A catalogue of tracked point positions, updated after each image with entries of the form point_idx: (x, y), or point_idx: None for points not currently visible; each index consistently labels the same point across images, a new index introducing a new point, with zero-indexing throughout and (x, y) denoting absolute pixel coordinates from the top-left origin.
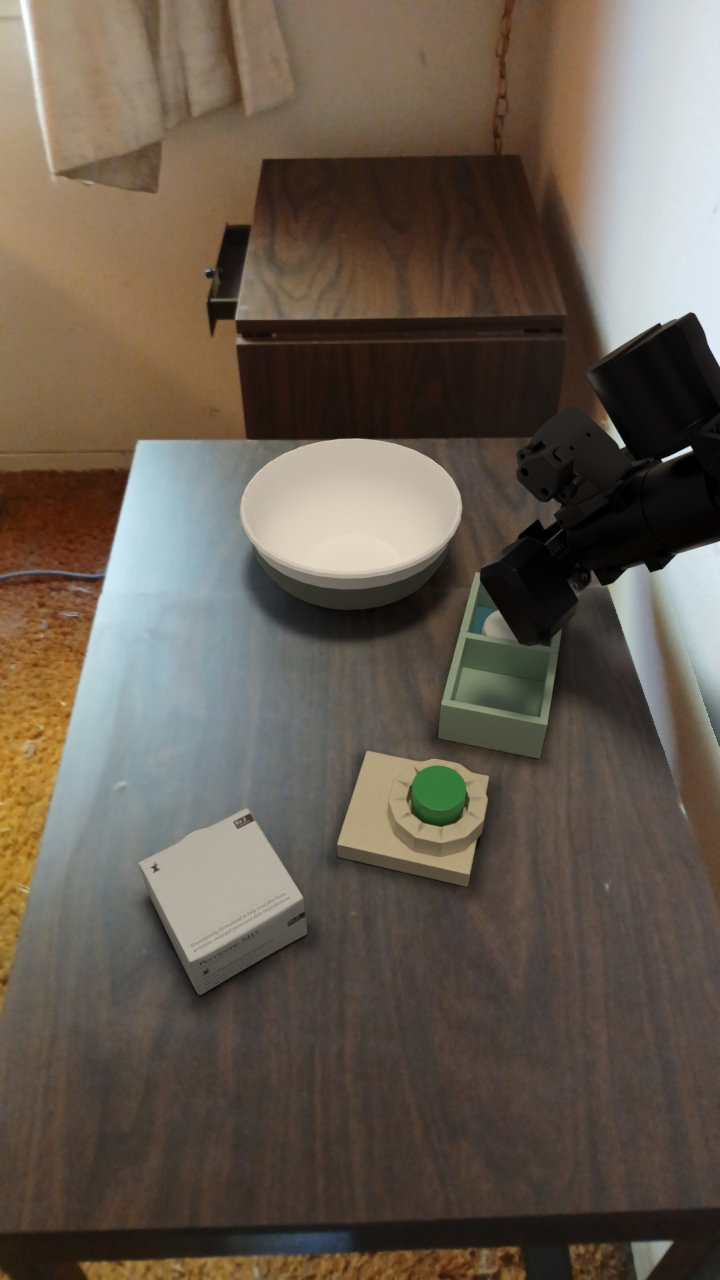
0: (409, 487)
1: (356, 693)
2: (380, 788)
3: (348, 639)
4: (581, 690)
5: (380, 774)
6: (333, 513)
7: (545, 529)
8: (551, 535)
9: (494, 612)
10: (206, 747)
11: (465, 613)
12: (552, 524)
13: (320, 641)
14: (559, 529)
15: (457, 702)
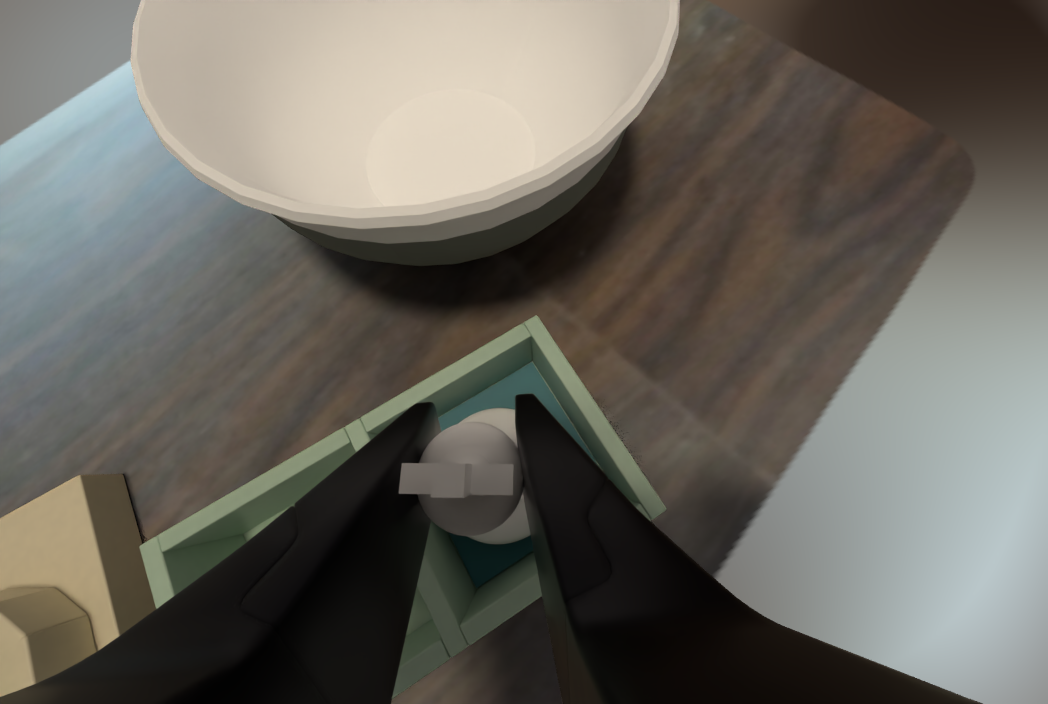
0: (618, 59)
1: (244, 352)
2: (10, 559)
3: (333, 262)
4: (514, 664)
5: (39, 535)
6: (503, 49)
7: (563, 510)
8: (549, 572)
9: (506, 411)
10: (37, 278)
11: (412, 388)
12: (576, 566)
13: (302, 237)
14: (569, 646)
15: (162, 571)
